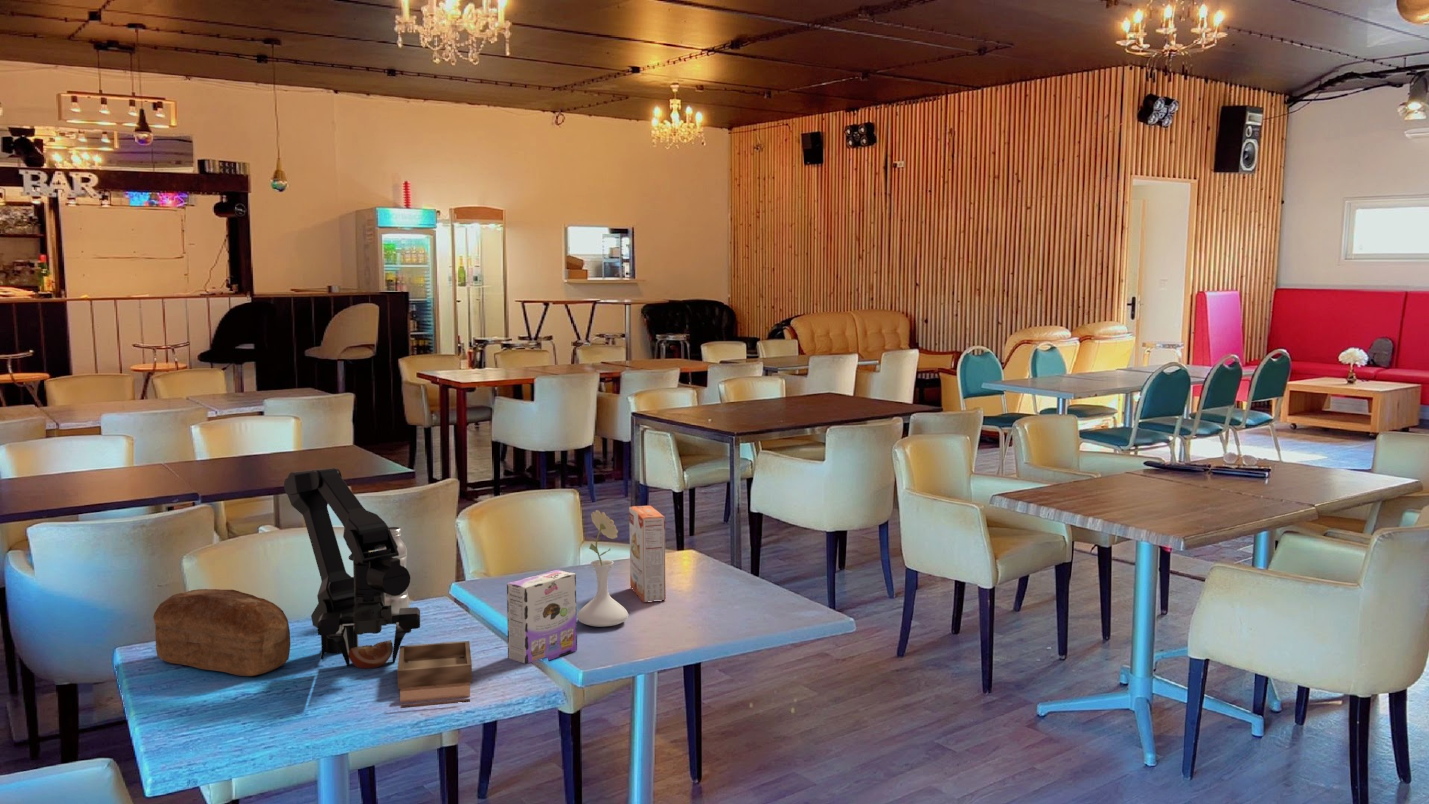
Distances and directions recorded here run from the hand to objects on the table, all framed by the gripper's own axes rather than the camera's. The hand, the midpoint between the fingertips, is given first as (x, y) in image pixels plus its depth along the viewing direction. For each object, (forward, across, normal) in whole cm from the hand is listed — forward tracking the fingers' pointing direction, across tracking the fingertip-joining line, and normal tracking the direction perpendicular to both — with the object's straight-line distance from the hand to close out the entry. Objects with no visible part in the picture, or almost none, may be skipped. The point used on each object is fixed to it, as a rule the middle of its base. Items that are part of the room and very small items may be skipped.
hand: (371, 663), depth 207 cm
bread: (+2, -28, +10) cm, 30 cm away
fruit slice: (+1, 0, 0) cm, 1 cm away
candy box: (+1, +33, -1) cm, 33 cm away
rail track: (+1, +12, -8) cm, 15 cm away
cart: (0, +12, -11) cm, 16 cm away
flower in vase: (+1, +48, +19) cm, 52 cm away
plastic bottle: (+1, +3, +36) cm, 36 cm away
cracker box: (+1, +62, +38) cm, 73 cm away
